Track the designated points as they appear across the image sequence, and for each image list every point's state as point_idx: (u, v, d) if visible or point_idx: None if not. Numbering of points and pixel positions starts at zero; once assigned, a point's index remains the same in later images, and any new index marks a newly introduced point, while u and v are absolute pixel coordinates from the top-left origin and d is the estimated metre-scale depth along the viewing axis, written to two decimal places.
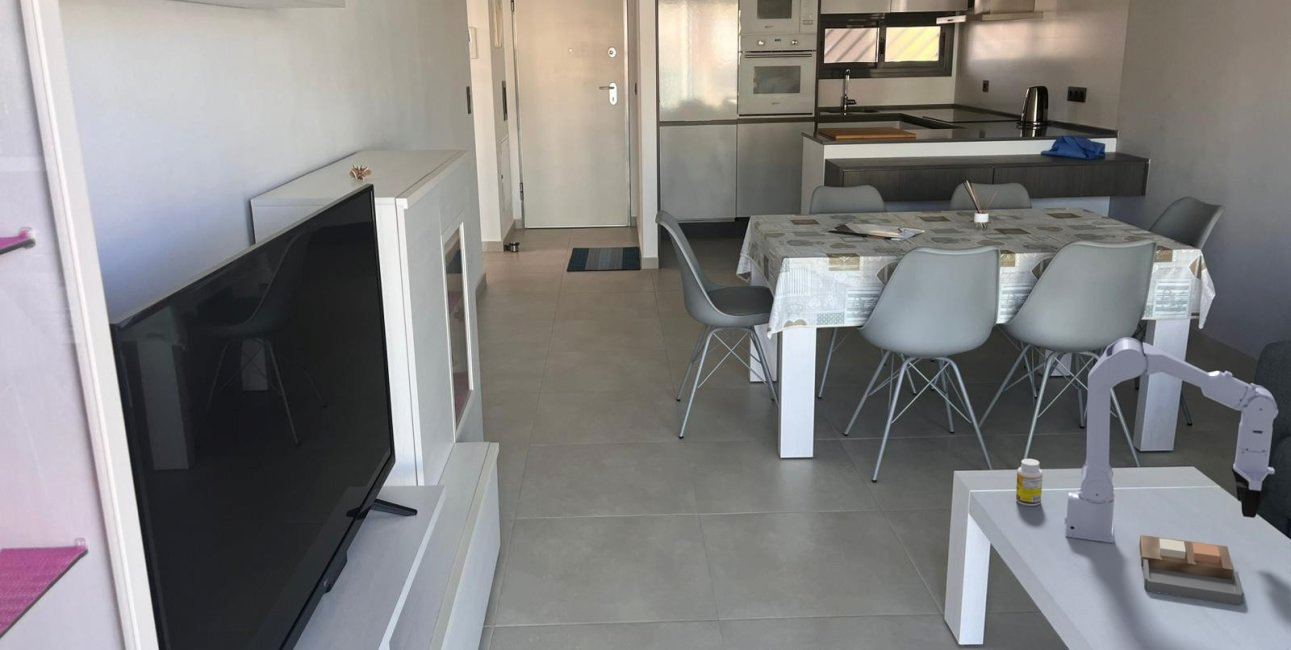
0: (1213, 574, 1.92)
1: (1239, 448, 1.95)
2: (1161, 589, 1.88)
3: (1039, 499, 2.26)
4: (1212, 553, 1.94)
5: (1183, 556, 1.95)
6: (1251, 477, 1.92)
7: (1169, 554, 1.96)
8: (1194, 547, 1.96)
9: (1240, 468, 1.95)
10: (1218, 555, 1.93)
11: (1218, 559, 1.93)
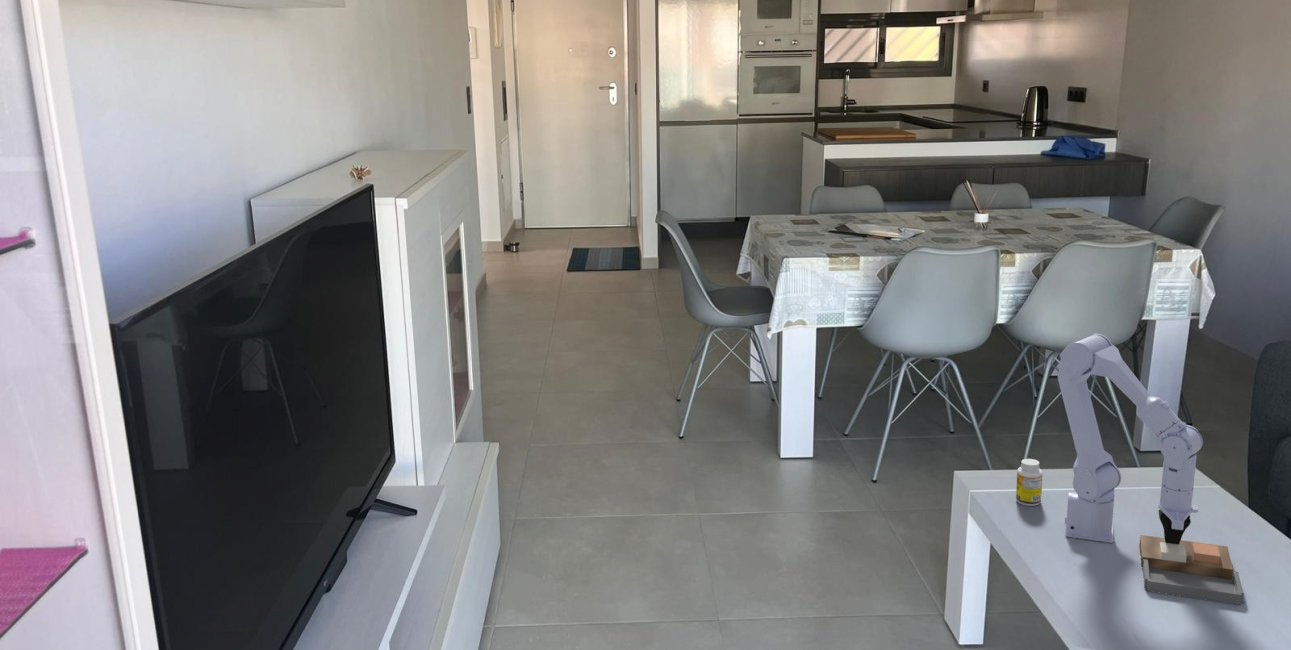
0: (1213, 574, 1.92)
1: (1163, 487, 1.96)
2: (1161, 589, 1.88)
3: (1039, 499, 2.26)
4: (1212, 553, 1.94)
5: (1184, 560, 1.94)
6: (1174, 516, 1.93)
7: (1170, 558, 1.95)
8: (1194, 547, 1.96)
9: (1164, 507, 1.96)
10: (1218, 555, 1.93)
11: (1218, 559, 1.93)
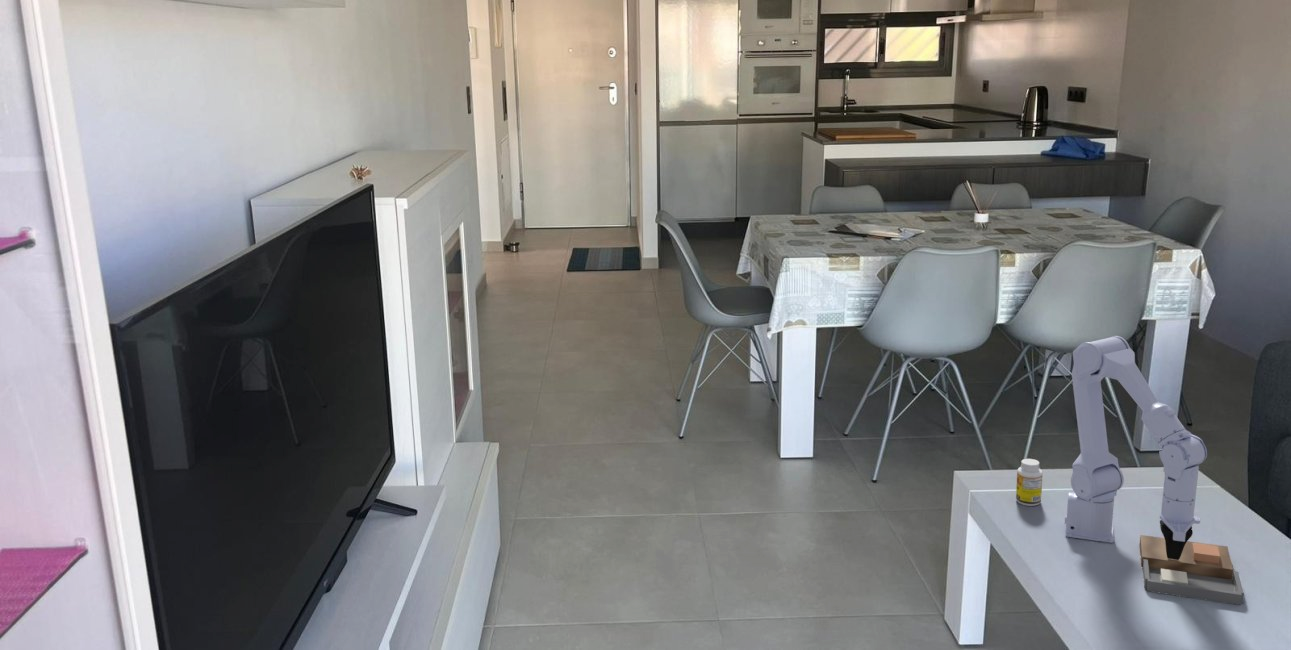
0: (1213, 574, 1.92)
1: (1164, 497, 1.91)
2: (1161, 589, 1.88)
3: (1039, 499, 2.26)
4: (1212, 553, 1.94)
5: None
6: (1176, 527, 1.89)
7: None
8: (1194, 547, 1.96)
9: (1166, 517, 1.92)
10: (1218, 555, 1.93)
11: (1218, 559, 1.93)
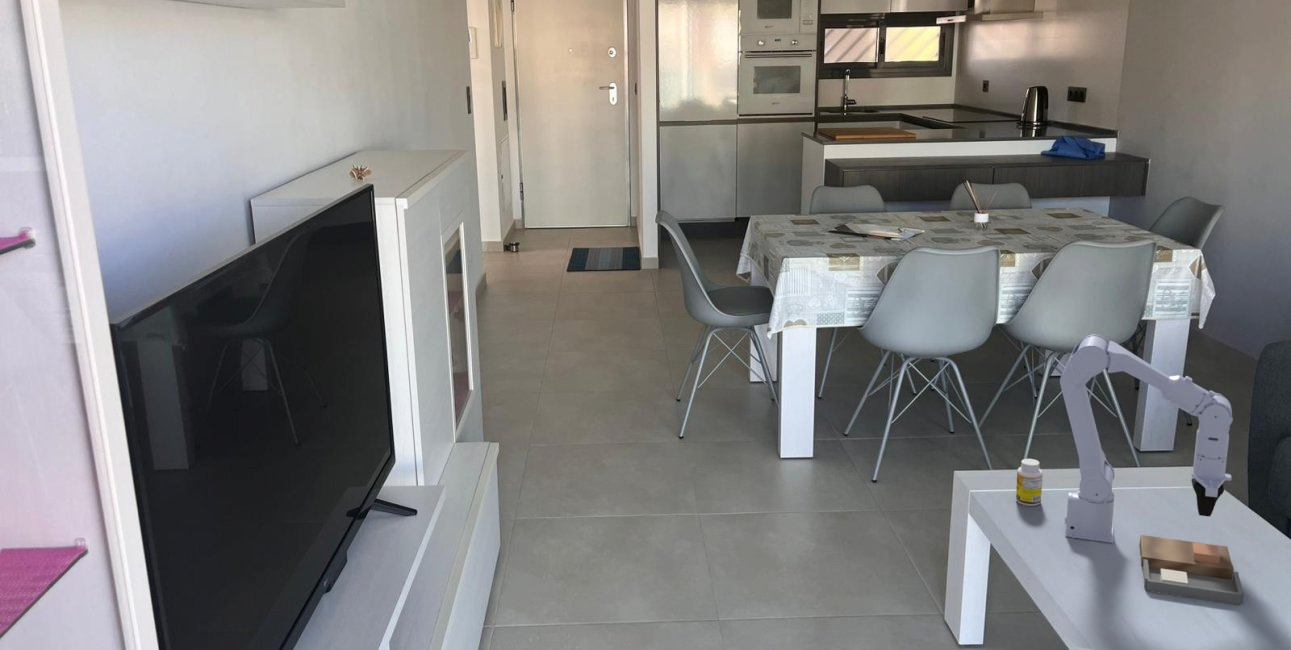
0: (1213, 574, 1.92)
1: (1197, 455, 1.97)
2: (1161, 589, 1.88)
3: (1039, 499, 2.26)
4: (1212, 553, 1.94)
5: None
6: (1208, 484, 1.94)
7: None
8: (1194, 547, 1.96)
9: (1198, 475, 1.97)
10: (1218, 555, 1.93)
11: (1218, 559, 1.93)
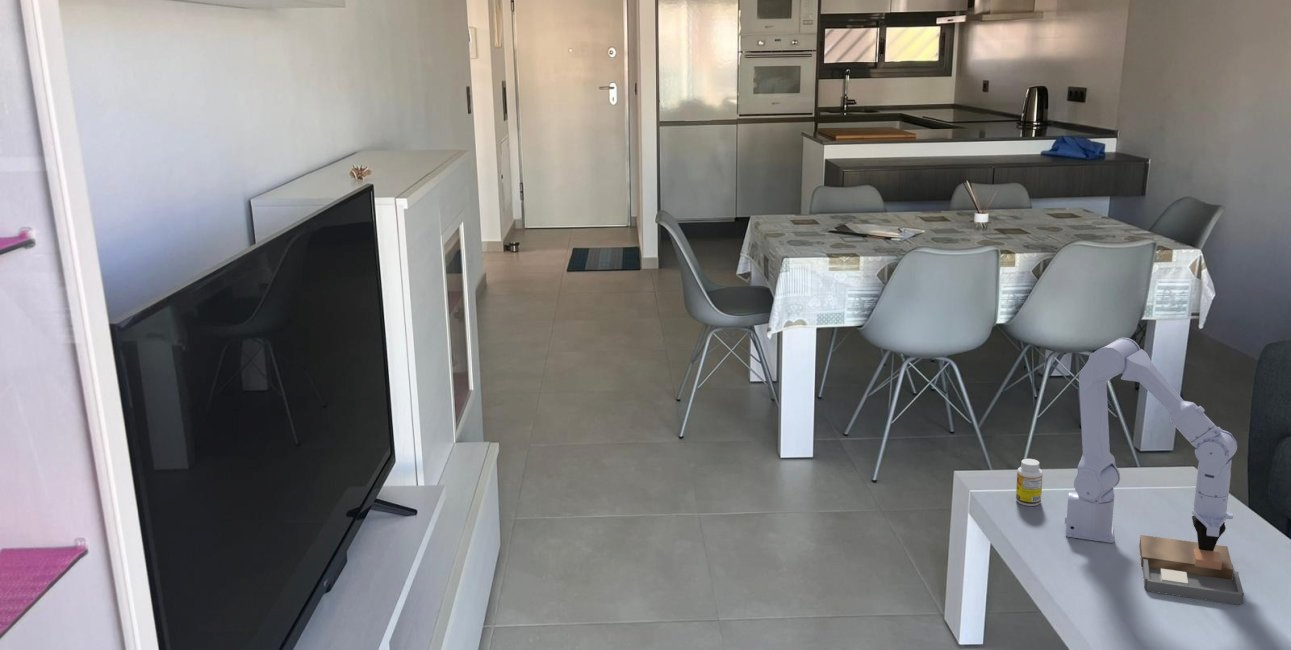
0: (1213, 574, 1.92)
1: (1197, 493, 1.93)
2: (1161, 589, 1.88)
3: (1039, 499, 2.26)
4: (1214, 559, 1.91)
5: None
6: (1209, 523, 1.90)
7: None
8: (1195, 553, 1.94)
9: (1198, 513, 1.93)
10: (1220, 561, 1.90)
11: (1220, 565, 1.90)
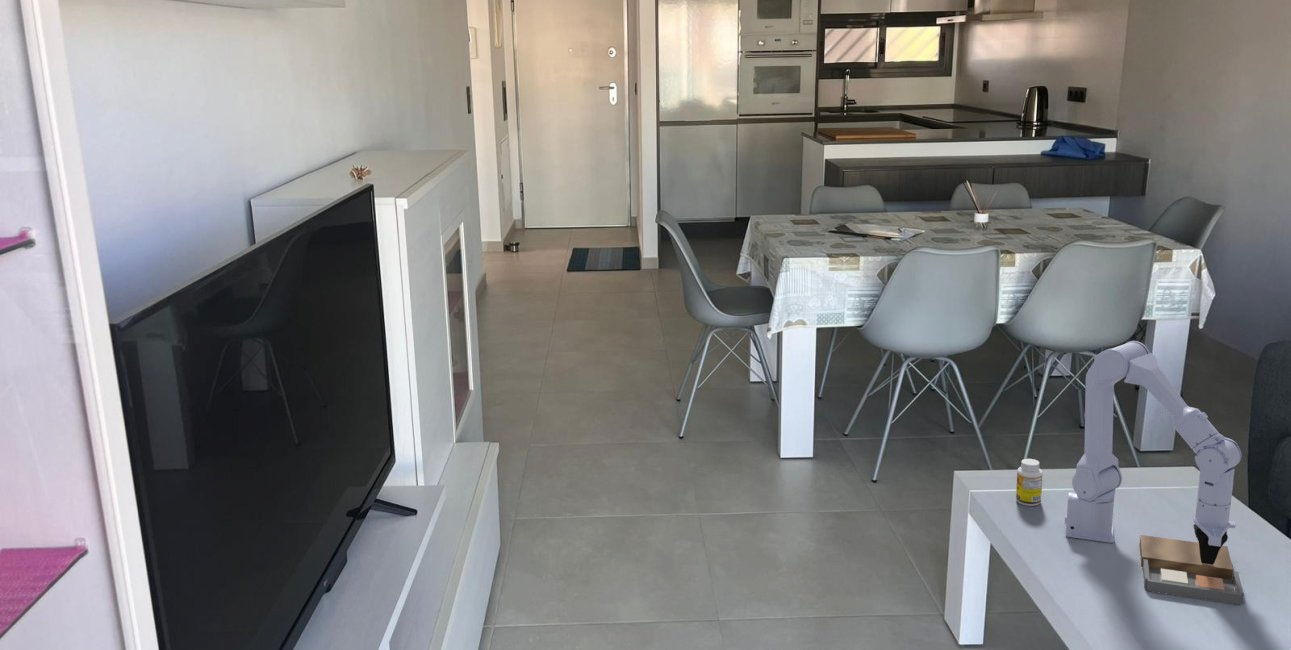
0: (1213, 574, 1.92)
1: (1199, 501, 1.89)
2: (1161, 589, 1.88)
3: (1039, 499, 2.26)
4: None
5: None
6: (1211, 532, 1.86)
7: None
8: None
9: (1200, 522, 1.89)
10: None
11: None
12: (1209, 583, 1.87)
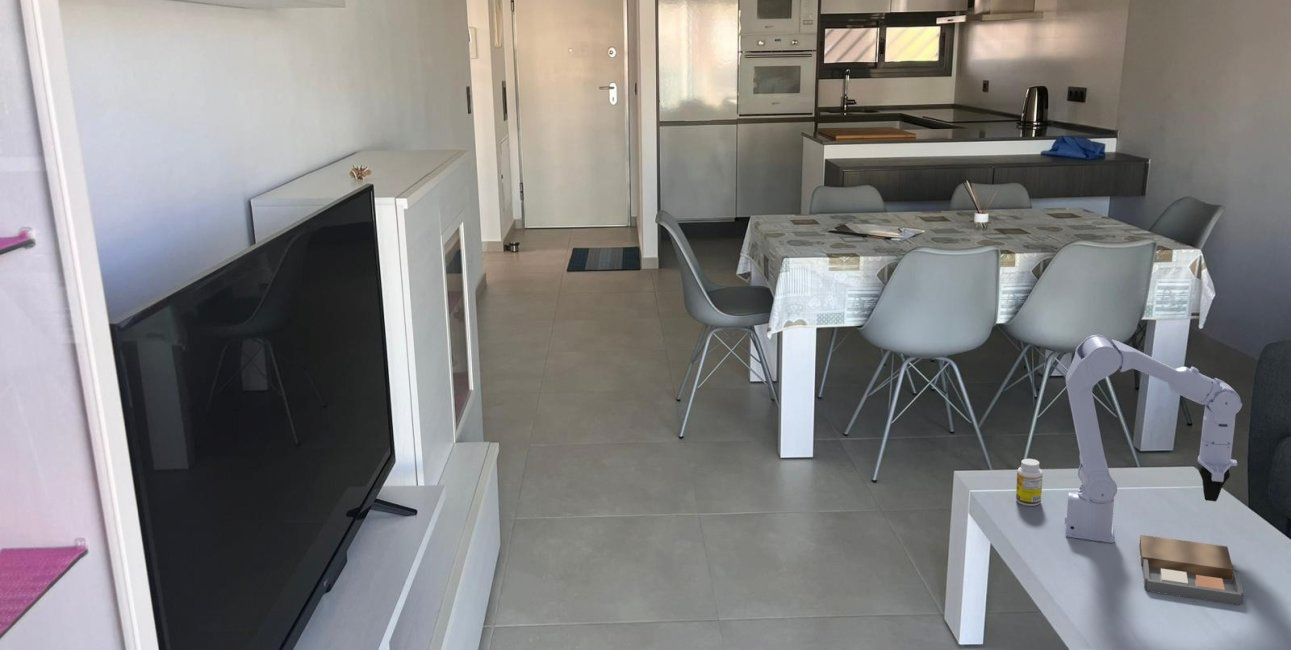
0: (1213, 574, 1.92)
1: (1203, 441, 2.01)
2: (1161, 589, 1.88)
3: (1039, 499, 2.26)
4: None
5: None
6: (1214, 469, 1.98)
7: None
8: None
9: (1204, 460, 2.01)
10: None
11: None
12: (1209, 583, 1.87)
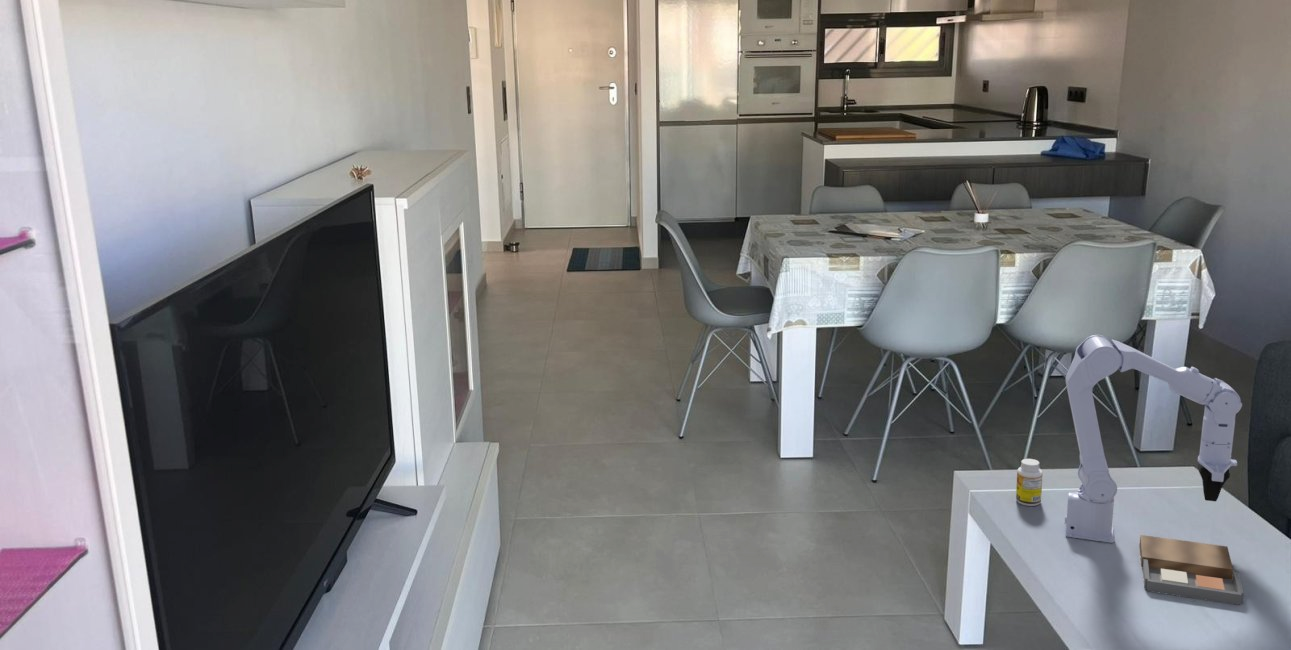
0: (1213, 574, 1.92)
1: (1203, 441, 2.01)
2: (1161, 589, 1.88)
3: (1039, 499, 2.26)
4: None
5: None
6: (1214, 469, 1.98)
7: None
8: None
9: (1204, 460, 2.01)
10: None
11: None
12: (1209, 583, 1.87)
